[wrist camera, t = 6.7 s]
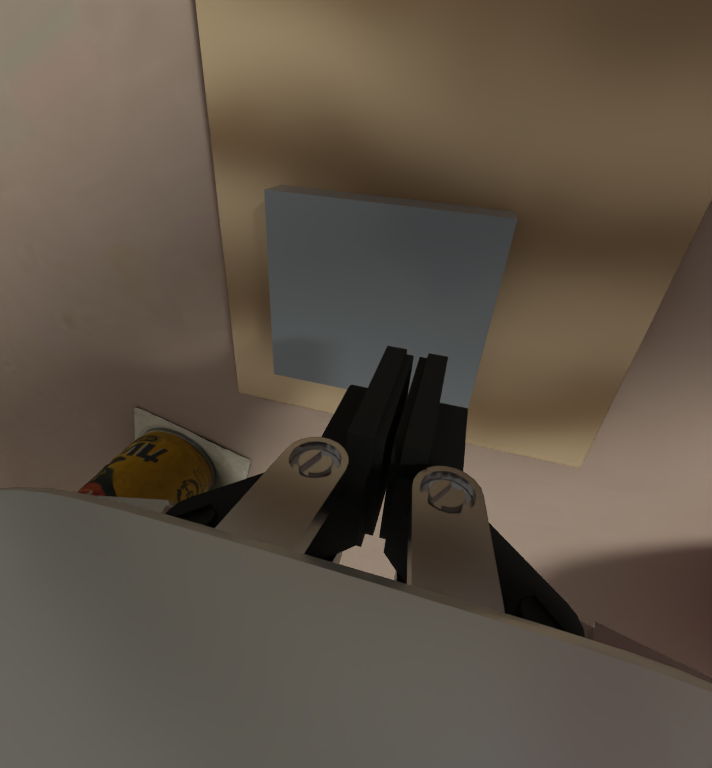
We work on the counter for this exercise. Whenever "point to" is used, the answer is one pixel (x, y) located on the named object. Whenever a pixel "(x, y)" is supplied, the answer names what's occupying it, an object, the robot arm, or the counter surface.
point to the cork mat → (477, 172)
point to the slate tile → (381, 284)
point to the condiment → (166, 464)
